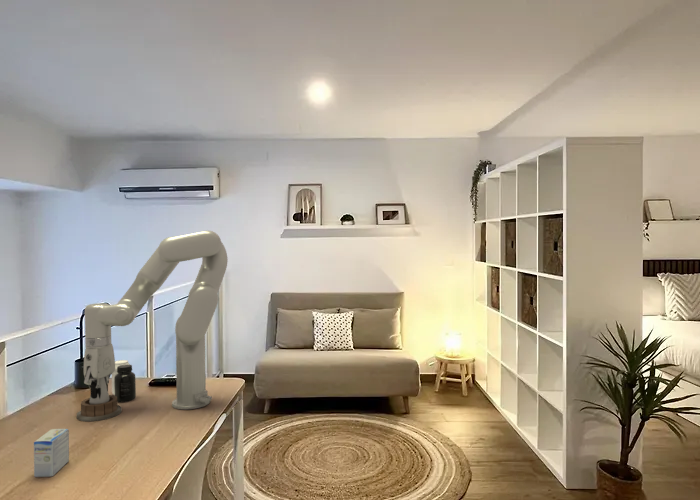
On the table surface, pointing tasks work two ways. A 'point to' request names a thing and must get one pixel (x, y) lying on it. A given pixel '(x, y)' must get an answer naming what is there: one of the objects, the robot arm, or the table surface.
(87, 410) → the walnut sleeve
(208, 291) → the robot arm
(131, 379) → the supplement bottle
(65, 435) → the medicine box
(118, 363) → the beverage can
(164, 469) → the table surface
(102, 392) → the salt shaker
